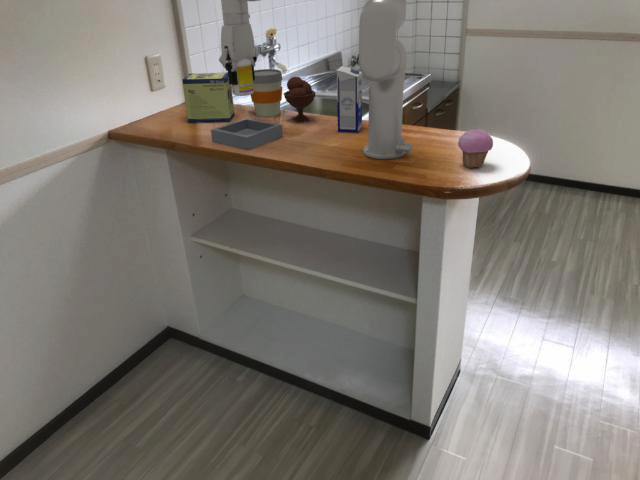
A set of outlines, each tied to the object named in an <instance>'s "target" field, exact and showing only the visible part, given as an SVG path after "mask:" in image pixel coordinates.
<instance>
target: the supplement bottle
mask: <svg viewBox="0 0 640 480" xmlns="http://www.w3.org/2000/svg"><path fill="white" fill-rule="evenodd" d="M244 55H246V54H244ZM231 66H232V63H231ZM235 71H236V72H237V79H238V85H231V86H232V95H234V96H236V97H237V96H238V97H244V96H245V97H247V96H251V94H253V93H254V87H253V76H252V66H251V61H250V60H249V59H246V58H244V59H243V60H240V61H238V62H237V63H236V67H235Z"/></svg>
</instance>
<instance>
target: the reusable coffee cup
mask: <svg viewBox="0 0 640 480" xmlns="http://www.w3.org/2000/svg"><path fill="white" fill-rule="evenodd" d="M254 74H255V80H254V81H253V87H254V93H253V94H251V95H250V98H251V102H252V104H253V108H254V112H255V115H256V117H261V118H263V117H264V118H270V117H271V118H272V117H275V116H279V115H280V114H281V113H280V112H281V101H282V99H283V98H282V97H283V86H282V81H283V75H282V71H281V70H280V69H273V68H268V69H267V68H264V69H254Z"/></svg>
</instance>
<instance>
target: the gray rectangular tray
mask: <svg viewBox="0 0 640 480" xmlns="http://www.w3.org/2000/svg"><path fill="white" fill-rule="evenodd" d="M210 133H211V141H212V143H216V144H220V145H225V146H229V147H233V148H237V149H241V150H245V151H250V150H253V149H255V148H258V147H261V146H263V145H265V144H268V143H271V142H273V141H276V140H279V139H280V138H281V139H282V138H283V137H284V136H283V135H284V133H283V124H281V123H276V122H270V121H265V120H260V119H255V118H254V119H253V118H249V117H245V118H242V119H237V120H236V121H235V120H234V121H231V122H228V123H227V124H223V125H220V126H217V127H215V128H211V129H210Z"/></svg>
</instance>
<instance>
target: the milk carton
mask: <svg viewBox="0 0 640 480" xmlns="http://www.w3.org/2000/svg"><path fill="white" fill-rule="evenodd" d="M336 96H337V97H336V102H337V133H352V134H356V133H357V134H358V133H359V132H360V131H361V129H362V128H363V74H362V72H361V70H360V68H358V67H353V66H352V67H348V66H347V67H346V66H343V65H341V66H340V67H339V68H338V69H336Z"/></svg>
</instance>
